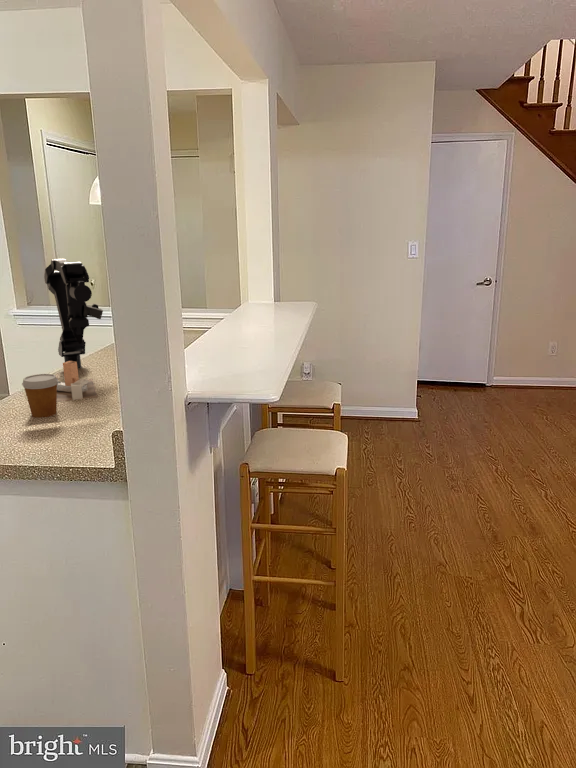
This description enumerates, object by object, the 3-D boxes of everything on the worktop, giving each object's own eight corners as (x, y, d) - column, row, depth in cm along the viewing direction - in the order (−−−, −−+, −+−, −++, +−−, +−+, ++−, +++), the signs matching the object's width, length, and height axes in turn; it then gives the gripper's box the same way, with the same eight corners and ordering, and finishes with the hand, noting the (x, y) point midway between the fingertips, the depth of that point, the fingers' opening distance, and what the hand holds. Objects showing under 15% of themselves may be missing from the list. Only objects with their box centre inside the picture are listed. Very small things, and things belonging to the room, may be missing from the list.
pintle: (44, 388, 191) (43, 377, 190) (64, 386, 193) (62, 376, 192) (44, 393, 185) (43, 382, 184) (64, 391, 188) (63, 380, 187)
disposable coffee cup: (54, 423, 161) (49, 382, 158) (20, 423, 162) (15, 382, 158) (67, 412, 171) (63, 373, 167) (35, 412, 171) (30, 373, 168)
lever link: (53, 386, 192) (50, 358, 189) (88, 390, 187) (85, 361, 185) (44, 389, 188) (40, 361, 185) (79, 393, 183) (76, 364, 181)
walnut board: (46, 386, 198) (46, 383, 197) (92, 382, 203) (92, 378, 203) (46, 406, 176) (46, 402, 176) (98, 400, 182) (97, 397, 181)
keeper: (71, 393, 186) (70, 379, 185) (89, 391, 188) (87, 377, 186) (72, 399, 179) (71, 385, 177) (90, 397, 181) (89, 384, 179)
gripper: (102, 301, 194) (106, 346, 198) (98, 294, 211) (102, 336, 215) (67, 302, 190) (72, 349, 194) (65, 296, 207) (70, 339, 211)
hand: (80, 343), depth 204 cm, fingers closed
